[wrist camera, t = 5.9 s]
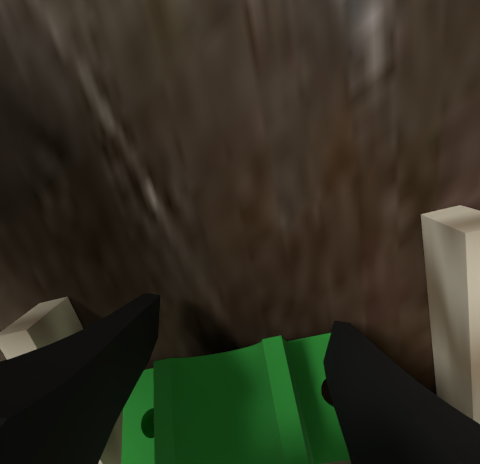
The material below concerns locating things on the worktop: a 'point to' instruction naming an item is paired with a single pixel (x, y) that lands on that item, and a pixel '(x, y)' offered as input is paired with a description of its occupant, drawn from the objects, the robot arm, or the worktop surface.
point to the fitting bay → (440, 308)
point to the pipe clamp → (235, 408)
